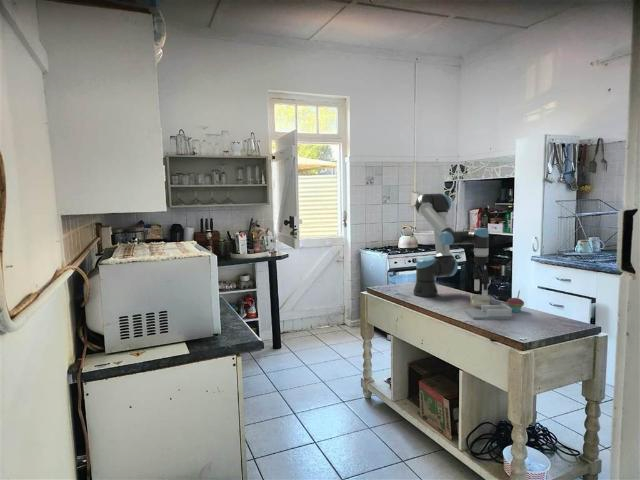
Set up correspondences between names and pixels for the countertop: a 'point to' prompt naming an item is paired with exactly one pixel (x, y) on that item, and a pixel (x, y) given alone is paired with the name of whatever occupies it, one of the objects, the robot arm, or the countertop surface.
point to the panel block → (479, 300)
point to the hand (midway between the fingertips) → (480, 293)
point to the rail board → (482, 314)
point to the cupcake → (515, 303)
